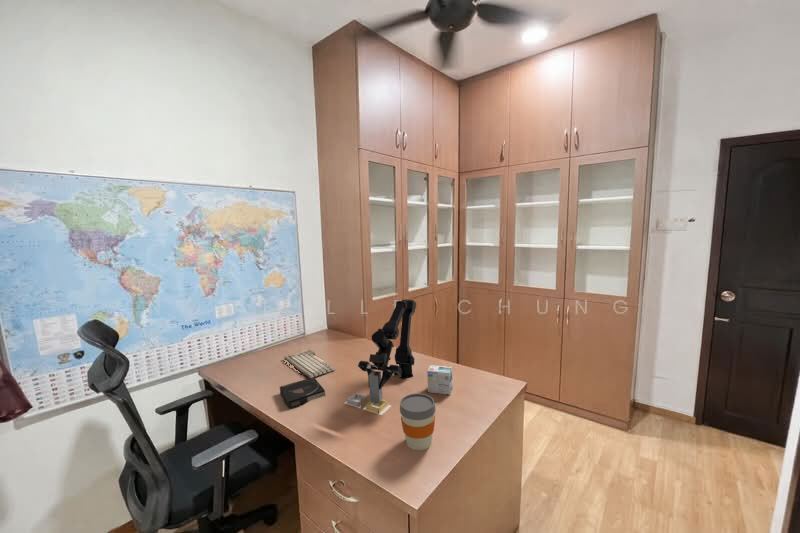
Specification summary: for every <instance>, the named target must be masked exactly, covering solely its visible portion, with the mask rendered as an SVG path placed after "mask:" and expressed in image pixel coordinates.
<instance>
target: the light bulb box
mask: <svg viewBox="0 0 800 533" xmlns="http://www.w3.org/2000/svg"><path fill="white" fill-rule="evenodd" d="M426 377H427V378H426V379H427V392H428V393H431V394H438V393H439V394H440V395H446V394H448V396H451V395H452V391H453V390H454V388H453V387H454V383H453V367H452V366H443V365H434V364H430V365H429V367H428V369H427V370H426ZM439 394H438V395H439ZM450 394H451V395H450Z"/></svg>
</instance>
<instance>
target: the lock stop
mask: <svg viewBox="0 0 800 533" xmlns="http://www.w3.org/2000/svg"><path fill="white" fill-rule="evenodd" d="M381 378H382V371H380V370H374V371H372V372H371V373H370V374H369V384H368V388H369V387H370V388H369V393H370V402H371V403H380V402H381V400H383V387H382V388H381V389H379V385H380V381H381Z"/></svg>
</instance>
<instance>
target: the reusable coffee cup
mask: <svg viewBox="0 0 800 533" xmlns="http://www.w3.org/2000/svg"><path fill="white" fill-rule="evenodd" d="M399 402H400V403H399V413H400V415H401V416H400V421H401V422H400V423H401V426H402V431H403V433H404V435H405V437H404V438H405V441H406V445H407V447H408V448H409V449H411V450H413V451H425V450H426V449H428V448H430V447H431V446H432V441H433V432H434V431H435V422H436V414H435V413H436V405H435V400H434V398H433V397H432V396H430V395H427V394H426V393H411V394H407V395H405V396H404V397H402V398H401V400H400V401H399Z"/></svg>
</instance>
